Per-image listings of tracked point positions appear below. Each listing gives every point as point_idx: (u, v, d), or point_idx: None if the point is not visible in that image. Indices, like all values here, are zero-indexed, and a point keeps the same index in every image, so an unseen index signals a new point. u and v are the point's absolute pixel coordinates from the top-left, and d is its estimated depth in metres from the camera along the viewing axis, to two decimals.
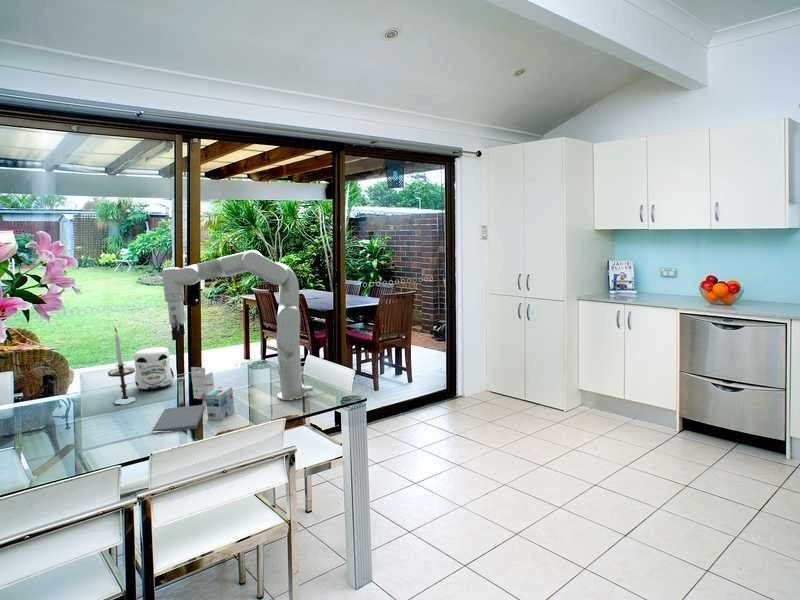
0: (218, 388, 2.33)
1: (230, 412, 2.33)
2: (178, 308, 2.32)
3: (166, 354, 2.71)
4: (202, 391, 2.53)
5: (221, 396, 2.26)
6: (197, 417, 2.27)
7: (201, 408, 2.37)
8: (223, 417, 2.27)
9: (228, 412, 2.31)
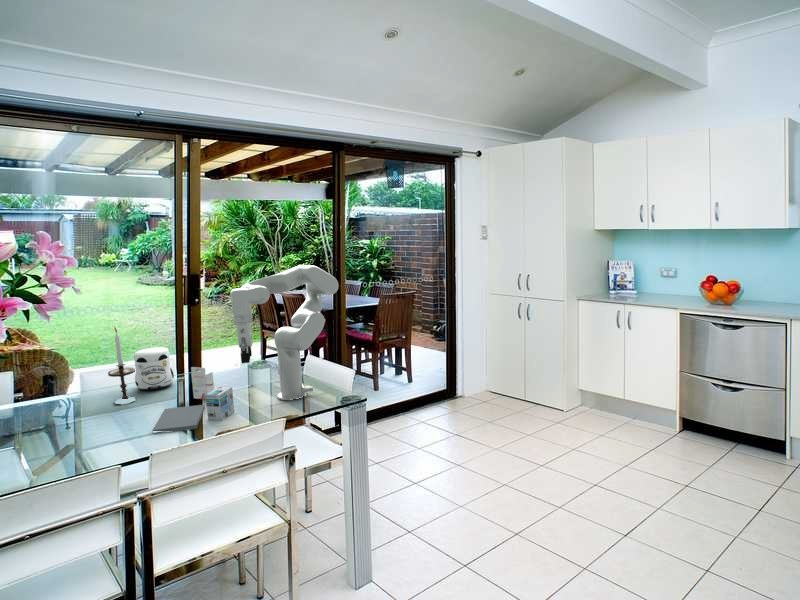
0: (218, 388, 2.33)
1: (230, 412, 2.33)
2: (247, 330, 2.25)
3: (166, 354, 2.71)
4: (202, 391, 2.53)
5: (221, 396, 2.26)
6: (197, 417, 2.27)
7: (201, 408, 2.37)
8: (223, 417, 2.27)
9: (228, 412, 2.31)
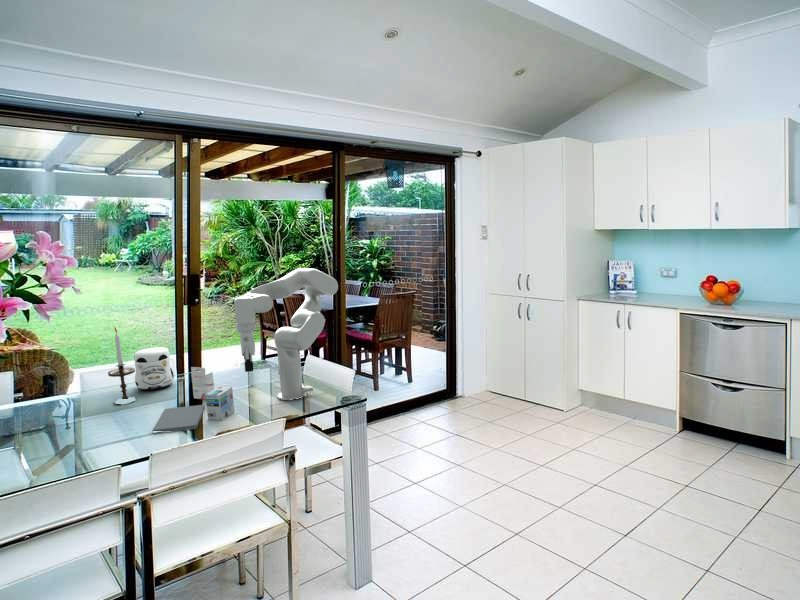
0: (218, 388, 2.33)
1: (230, 412, 2.33)
2: (251, 339, 2.25)
3: (166, 354, 2.71)
4: (202, 391, 2.53)
5: (221, 396, 2.26)
6: (197, 417, 2.27)
7: (201, 408, 2.37)
8: (223, 417, 2.27)
9: (228, 412, 2.31)
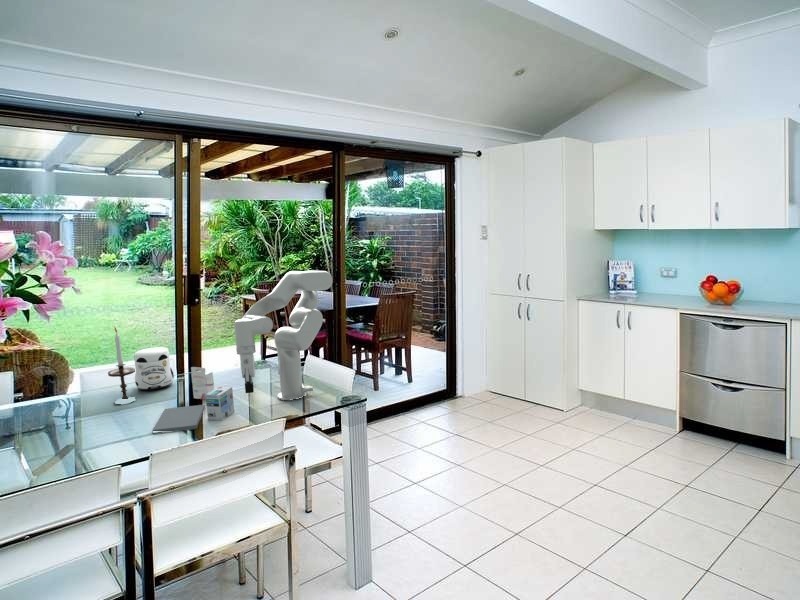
0: (218, 388, 2.33)
1: (230, 412, 2.33)
2: (251, 361, 2.26)
3: (166, 354, 2.71)
4: (202, 391, 2.53)
5: (221, 396, 2.26)
6: (197, 417, 2.27)
7: (201, 408, 2.37)
8: (223, 417, 2.27)
9: (228, 412, 2.31)
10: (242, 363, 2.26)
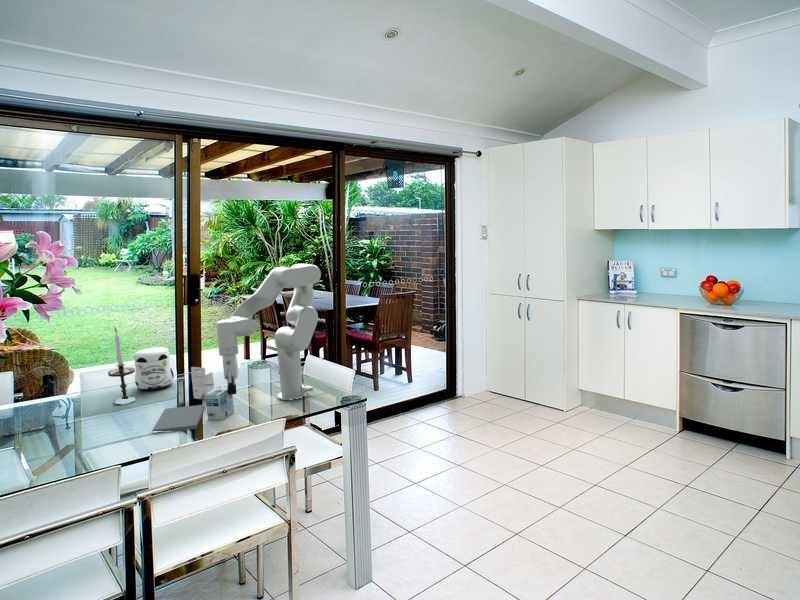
0: (217, 388, 2.33)
1: (230, 412, 2.33)
2: (233, 362, 2.25)
3: (166, 354, 2.71)
4: (202, 391, 2.53)
5: (220, 396, 2.26)
6: (197, 417, 2.27)
7: (201, 408, 2.37)
8: (223, 417, 2.27)
9: (227, 412, 2.31)
10: (224, 364, 2.24)
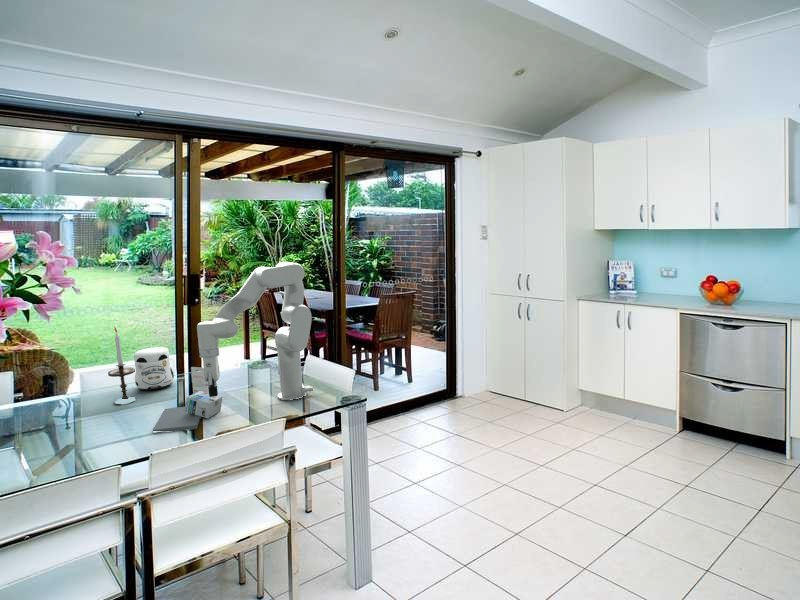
0: None
1: (216, 398, 2.33)
2: (214, 364, 2.24)
3: (166, 354, 2.71)
4: None
5: (190, 396, 2.29)
6: (197, 417, 2.27)
7: None
8: (209, 401, 2.28)
9: (213, 399, 2.31)
10: (205, 366, 2.23)
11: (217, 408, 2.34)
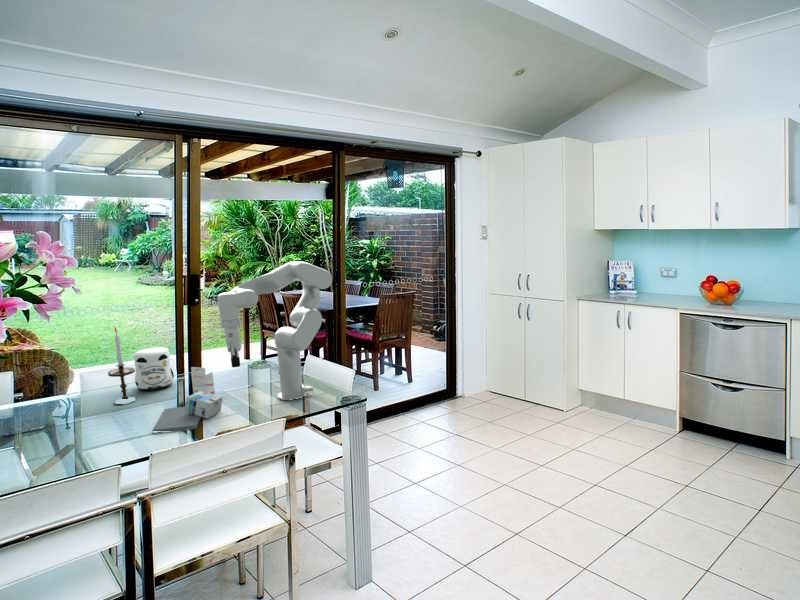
0: None
1: (216, 398, 2.33)
2: (236, 334, 2.24)
3: (166, 354, 2.71)
4: None
5: (190, 396, 2.29)
6: (197, 417, 2.27)
7: None
8: (209, 401, 2.28)
9: (213, 399, 2.31)
10: (227, 337, 2.23)
11: (217, 408, 2.34)
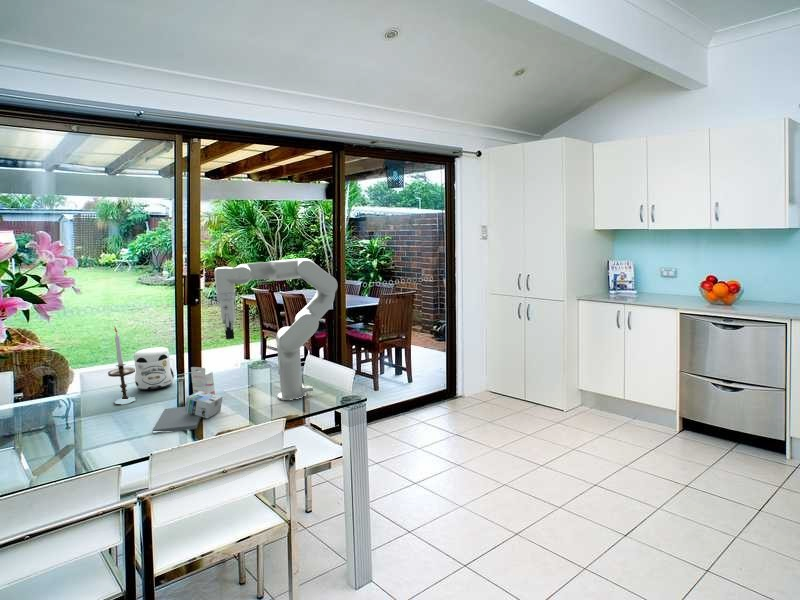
0: None
1: (216, 398, 2.33)
2: (230, 307, 2.34)
3: (166, 354, 2.71)
4: None
5: (190, 396, 2.29)
6: (197, 417, 2.27)
7: None
8: (209, 401, 2.28)
9: (213, 399, 2.31)
10: (222, 309, 2.34)
11: (217, 408, 2.34)
